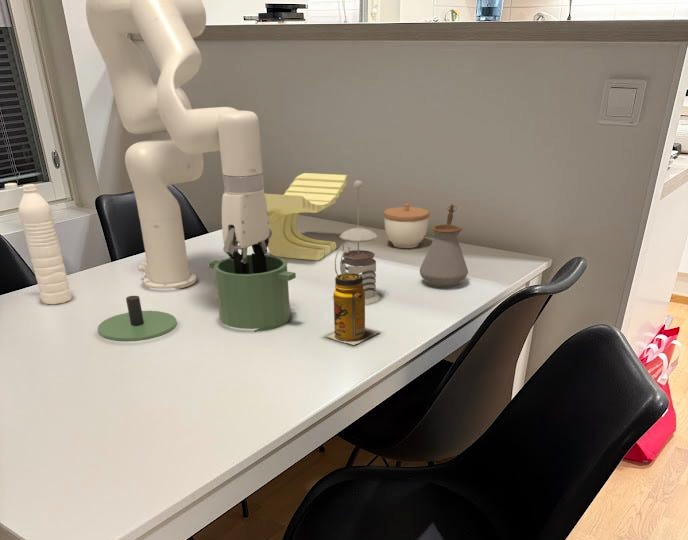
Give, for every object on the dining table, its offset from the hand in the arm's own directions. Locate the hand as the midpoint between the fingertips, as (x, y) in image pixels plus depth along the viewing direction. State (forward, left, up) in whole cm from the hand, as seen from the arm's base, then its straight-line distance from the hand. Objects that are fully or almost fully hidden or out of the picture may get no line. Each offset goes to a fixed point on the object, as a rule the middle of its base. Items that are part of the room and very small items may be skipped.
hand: (251, 276), depth 139 cm
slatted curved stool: (-19, +49, -9) cm, 53 cm away
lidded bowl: (+4, +68, -9) cm, 69 cm away
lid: (-18, -16, -8) cm, 25 cm away
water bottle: (-49, -11, -9) cm, 51 cm away
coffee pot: (+25, +45, -9) cm, 52 cm away
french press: (+13, +21, -9) cm, 26 cm away
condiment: (+23, +1, -9) cm, 25 cm away
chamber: (0, 0, -9) cm, 9 cm away
